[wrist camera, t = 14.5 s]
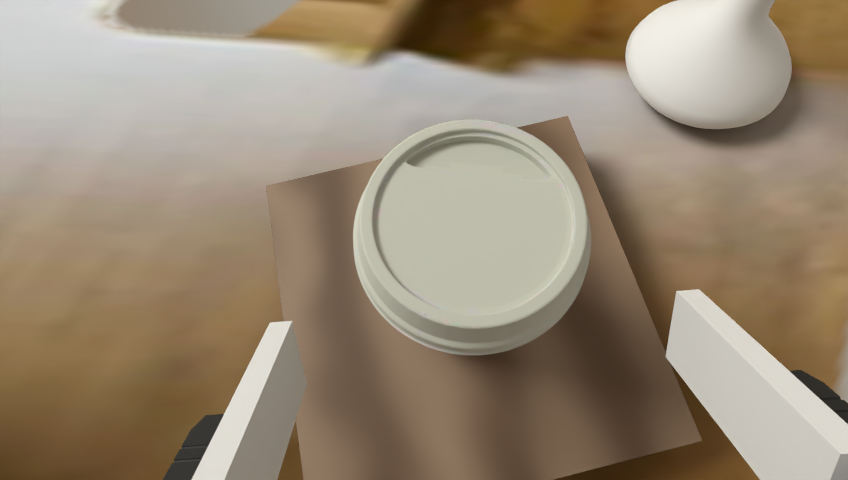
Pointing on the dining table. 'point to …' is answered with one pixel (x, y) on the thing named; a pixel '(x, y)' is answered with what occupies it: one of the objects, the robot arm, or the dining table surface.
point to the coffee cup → (472, 237)
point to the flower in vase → (710, 62)
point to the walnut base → (467, 359)
